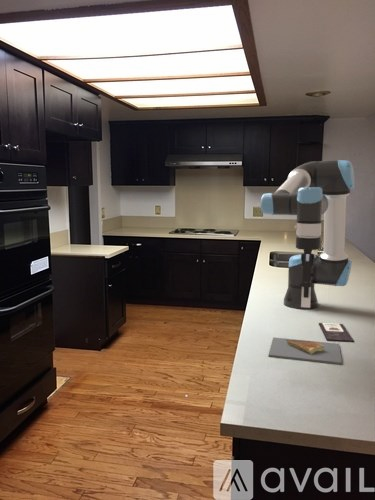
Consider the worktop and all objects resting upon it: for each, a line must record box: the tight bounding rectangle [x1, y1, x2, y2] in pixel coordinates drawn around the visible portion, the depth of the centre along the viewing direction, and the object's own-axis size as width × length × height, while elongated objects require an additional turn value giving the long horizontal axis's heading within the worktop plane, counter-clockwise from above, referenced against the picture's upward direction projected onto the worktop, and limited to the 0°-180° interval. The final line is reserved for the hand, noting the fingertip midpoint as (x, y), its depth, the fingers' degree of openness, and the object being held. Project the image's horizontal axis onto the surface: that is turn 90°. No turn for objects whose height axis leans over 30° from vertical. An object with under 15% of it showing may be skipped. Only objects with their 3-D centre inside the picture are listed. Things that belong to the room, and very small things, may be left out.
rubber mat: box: [268, 337, 343, 365], centre depth 135 cm, size 16×22×1 cm
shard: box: [286, 339, 324, 354], centre depth 137 cm, size 11×8×2 cm
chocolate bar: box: [318, 322, 355, 343], centre depth 152 cm, size 9×1×18 cm
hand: (305, 301), depth 133 cm, fingers open, 13 cm apart
